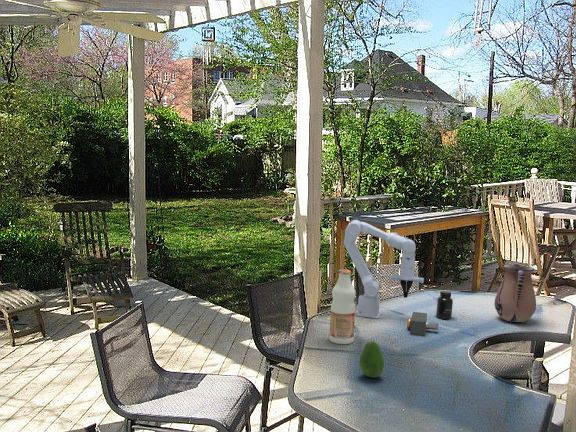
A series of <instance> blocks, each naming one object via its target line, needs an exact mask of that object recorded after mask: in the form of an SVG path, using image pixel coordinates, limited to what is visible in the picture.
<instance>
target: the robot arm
mask: <svg viewBox="0 0 576 432" xmlns="http://www.w3.org/2000/svg"><path fill="white" fill-rule="evenodd" d="M360 234H361V235H367V234H370V235H372V236H374V237H376V238H379V239H382V240H384V241H385V244H386V245H388V246H391V247H393V248H395V249H397V250H401V251H402V256H401V261H400V263H401V265H400V275H399V274H397V275H395V274H390V277H389V281H399V283H400V285H401V289H402V292H403V298H405V299H407V298H408V296H409V295H408V294H409V292H410V289H411V288H412V286H413V283H421V284H424V282H425V281H424V280H425V278H424V277H420V276H419V277H418V276H415V275H414V274H415V261H416V258H415V255H416V250H417V248H416V243H415V241H414V240H412V239H410V238H408V237H406V236H405V237H403V236H401V235H399V234H398V233H397V232H390V233H388V232H386V231H384V230H382V229H379V228H378V227H375V226H374V225H372V224H370V223H367V222H365V221H361V220H359V219H352V220H351V221H350V222H349V223H348V224H347V226H346V227H345V230H344V239H343V245H344V247H345V249H346V251H347V252H348V255H349V257H350V259H351V261H352V263H353V265H354V267H355V269H356V271H357V273H358V275H359V277H360V279H361V282H362V286H363V288H364V289H363V290H364V293H363V294H360V295H359V296H358V301H357V317H361V318H362V317H363V318H370V319H379V317H380V316H381V312H380V299H381V298H380V296H381V295H380V294H379V290H380V287H381V286H380V283H379V281H377V280H376V279H375V277H374V276H373V275H372V273H371V271H370V269H369V268H368V266H367V263H366V261H365V259H364V258H363V256H362V253H361V251H360V249H359V247H358V246H357V244H356V241H357V239H358V236H359V235H360Z"/></svg>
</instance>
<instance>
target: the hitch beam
mask: <svg viewBox="0 0 576 432" xmlns="http://www.w3.org/2000/svg"><path fill="white" fill-rule="evenodd" d="M411 314H412V315H411V318H410V319H411V324H410V328H409V335H412V336H413V335H414V336H421V337H425V335H426V330H427V329H426V322H428V321H427V320H428V313H427V312H420V311H412V313H411Z"/></svg>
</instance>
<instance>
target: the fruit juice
mask: <svg viewBox="0 0 576 432" xmlns="http://www.w3.org/2000/svg"><path fill="white" fill-rule="evenodd" d="M337 272H338V277H337V278H338V279H337V282H336V283H335V285H334V287H333V288H332V291H331V296H332V301H331V305H330V317H329V337H328V338H329V340H330V342H331V343H334V344H338V345H349V344H352V343H353V342H354V337H355V336H354V335H355V319H356V318H355V317H356V304H355V299H356V289H355V287H354V286H353V283H352V279H351V275H352V270H350V269H346V268H345V269H344V268H342V269H338V271H337Z"/></svg>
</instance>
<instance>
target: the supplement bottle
mask: <svg viewBox="0 0 576 432" xmlns="http://www.w3.org/2000/svg"><path fill="white" fill-rule="evenodd" d="M451 297H452V291H448V290H441V291H440V292H439V296H438V297H437V301H436V313H435V317H436V318H437V319H439V320H444V321H446V320H451V319H452V316H453V315H452V313H453V305H454V304H453V303H454V302H453V301H454V300H453V298H451Z"/></svg>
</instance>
